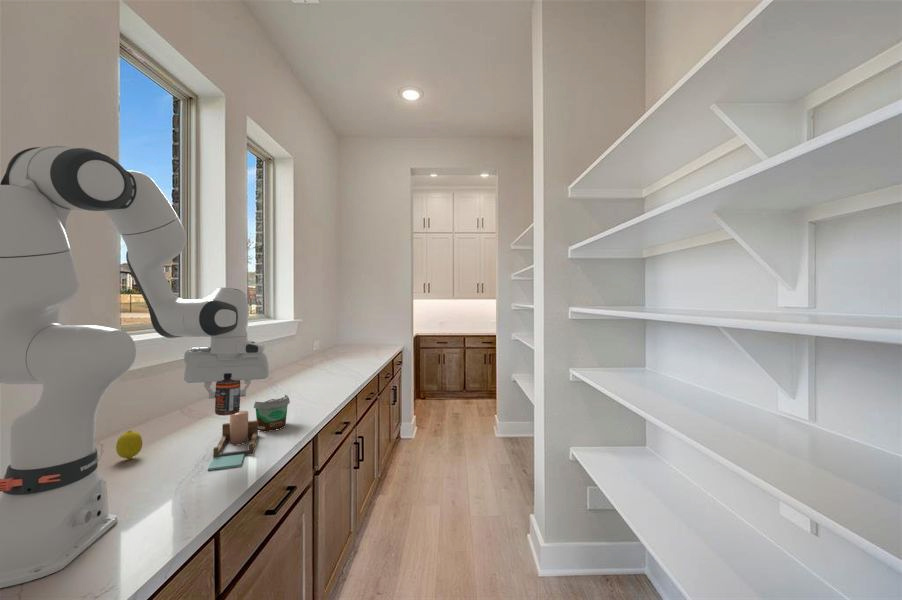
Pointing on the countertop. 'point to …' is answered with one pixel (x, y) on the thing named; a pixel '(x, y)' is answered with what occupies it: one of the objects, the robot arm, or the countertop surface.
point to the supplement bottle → (227, 396)
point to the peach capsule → (239, 428)
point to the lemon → (129, 444)
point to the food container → (272, 413)
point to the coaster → (226, 462)
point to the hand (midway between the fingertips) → (227, 397)
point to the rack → (226, 436)
